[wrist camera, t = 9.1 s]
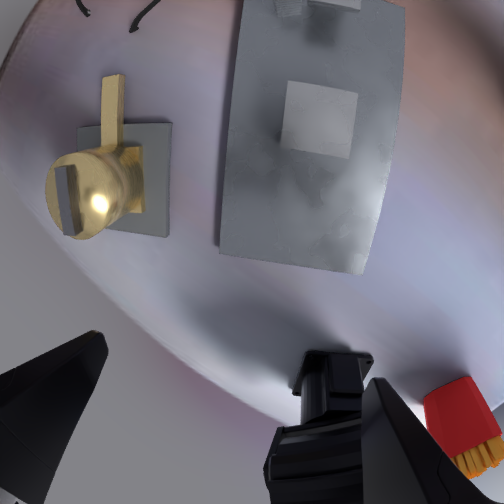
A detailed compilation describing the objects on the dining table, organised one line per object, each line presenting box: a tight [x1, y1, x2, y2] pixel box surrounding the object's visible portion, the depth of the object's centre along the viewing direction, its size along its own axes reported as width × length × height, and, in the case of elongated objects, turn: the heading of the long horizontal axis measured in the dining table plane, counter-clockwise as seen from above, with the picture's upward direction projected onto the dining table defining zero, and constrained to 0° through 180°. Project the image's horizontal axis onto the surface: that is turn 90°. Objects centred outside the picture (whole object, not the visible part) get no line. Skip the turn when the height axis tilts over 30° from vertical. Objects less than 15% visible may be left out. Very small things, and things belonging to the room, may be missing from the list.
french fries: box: [424, 377, 504, 479], centre depth 19 cm, size 9×4×13 cm, turn 115°
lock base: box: [219, 0, 405, 275], centre depth 13 cm, size 19×10×5 cm, turn 174°
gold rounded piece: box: [45, 74, 146, 240], centre depth 14 cm, size 10×5×6 cm, turn 177°
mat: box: [77, 123, 172, 238], centre depth 18 cm, size 8×8×1 cm
